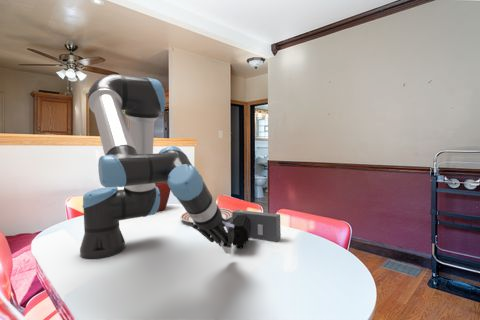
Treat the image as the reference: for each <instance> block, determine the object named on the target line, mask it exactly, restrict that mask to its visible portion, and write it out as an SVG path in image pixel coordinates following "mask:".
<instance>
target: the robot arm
mask: <svg viewBox="0 0 480 320" xmlns="http://www.w3.org/2000/svg"><path fill="white" fill-rule="evenodd" d="M164 89H165V88H164V87H163V84H162V83H161V81H159V80H158V79H155V78H151V77H143V76H134V75H126V74H125V75H124V74H117V73H113V74H108V75H104V76H101V77H100V78H99V79H97V80H96V81H94V82H93V83H92V85H91V86H90V88H89V90H88V93H87V103H88V107H89V109H90V110H91V112H92V113H93V114H94V117H95V120H96V125H97V130H98V133H99V137H100V142H101V145H102V150H103V154H104V155H101V156H99V158H98V164H97V165H98V177H99V178H98V179H99V183H100V185H101V186H103V187H100V188H97V189H93V190H89V191H88V192H86V193H84V194H83V198H82V208H83V209H82V210H83V226H84V227H83V228H84V234H83V238H82V240H81V241H82V242H81V245H80V248H79V256H80V257H81V258H84V259H102V258H105V257H111V256H114V255H117V254H119V253H121V252H123V251H124V250H125V249H126V241H125V237H124V236H123V233H122V231H121V229H120V221H126V220H130V219H137V218H146V217H148V216H153V215H155V214H157V212H158V211H157V210H158V208H159V204H160V192H159V189H158V188H157V187H156V186H155V183H161V182H167V183H168V186H169V188H170V193H172V195H173V196H174V197H175V198H176V199H177V200H178V202H179V203H180V205H181V206H182V207H183V208H184V210H185V211H186V212H187V213H188V214H189V215H190V217H191V218H192V219H193V221H194V224H193V223H192V226H191V227H192V228H193V229H195V230H196V231H197V232H198V233H200V234H201V235H202V236H204V238H206V240H208V241H209V242H210V243H214V242H215V243H216V244H218V246H219V247H221V248H222V250H223V251H224V253H225V254H227V255H228V254H229V255H230V254H231V252H232V247H233V239H234V225H235V222H232V221H230V222H227V220H225V219H224V218H222V214H221V211H220V209H219V208H220V207H219V206H218V204H217V202H216V201H215V198H214V197H213V196H212V194H211V192H210V189H208V187H207V184H206V182H205V181H204V179H203V177H202V175H201V174H200V172H199V170H198V169H197V167H195V166H194V165H192V163H191V162H190V159H189V158H188V156H187V154H186V153H185V152H184V151H182V149H181V148H179V147H178V146H175V145H170V146H169V145H168V146H166V147H165V148H164V147H163V148H162V149H160V150H159V152H158V153H154V137H155V136H154V134H155V121H157V120H158V119H159V118H160V113H162V112H164V111H165V109H166V106H167V105H166V94H165V90H164ZM123 111H124V112H123ZM125 116H126V118H127V119H128V120H129V127H128V123H127V120H126V118H125ZM119 188H123V189H119Z"/></svg>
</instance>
